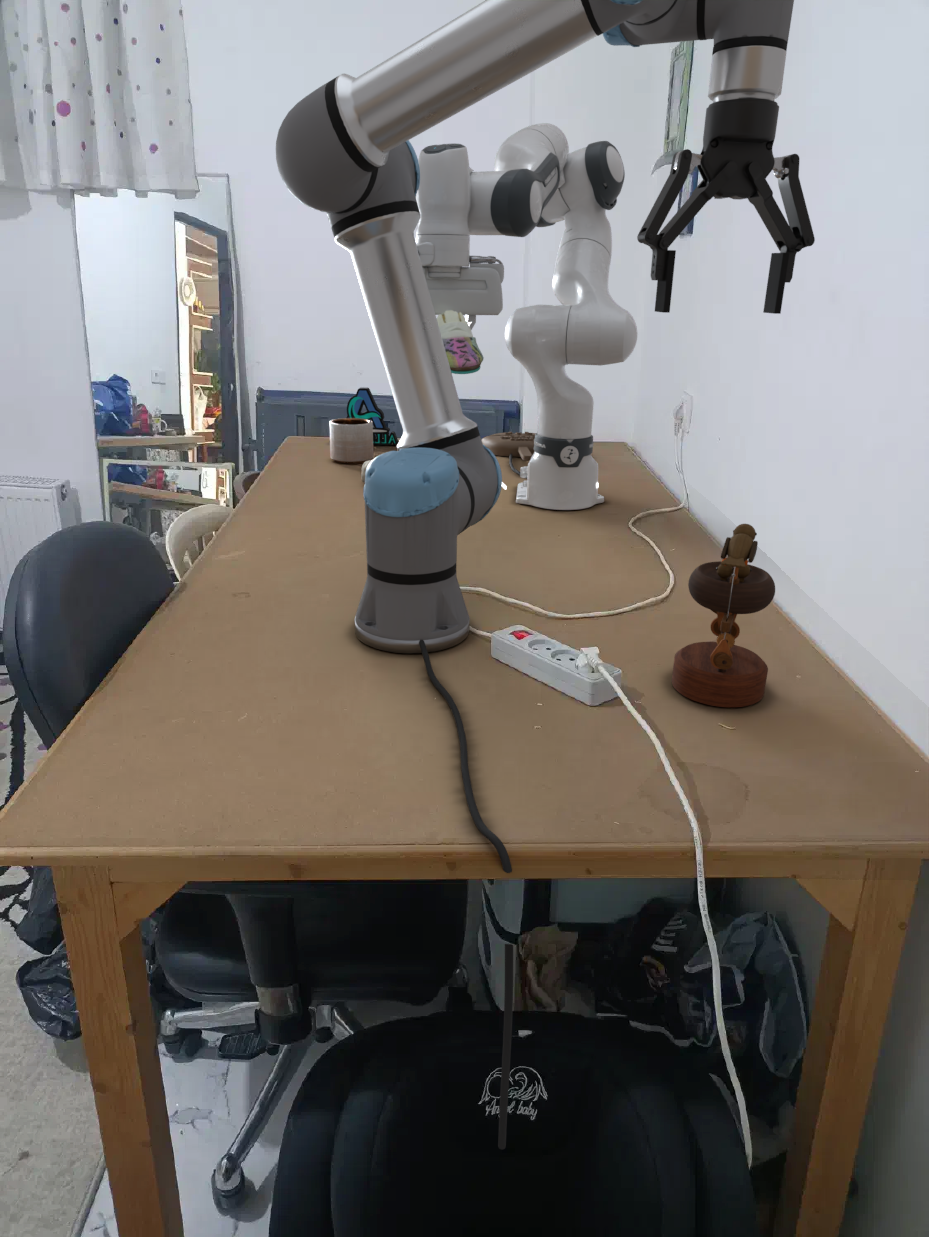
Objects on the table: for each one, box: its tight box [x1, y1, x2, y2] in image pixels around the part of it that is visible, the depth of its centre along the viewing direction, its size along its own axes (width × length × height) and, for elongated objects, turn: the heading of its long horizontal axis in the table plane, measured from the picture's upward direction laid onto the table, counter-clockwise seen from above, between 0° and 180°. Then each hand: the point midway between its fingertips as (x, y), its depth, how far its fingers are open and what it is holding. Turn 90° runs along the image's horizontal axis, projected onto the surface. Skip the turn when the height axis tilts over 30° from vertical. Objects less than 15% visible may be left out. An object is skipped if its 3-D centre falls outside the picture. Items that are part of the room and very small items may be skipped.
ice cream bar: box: [481, 431, 537, 462], centre depth 222 cm, size 21×28×4 cm
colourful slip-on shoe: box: [436, 310, 485, 375], centre depth 135 cm, size 8×24×9 cm, turn 9°
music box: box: [671, 523, 776, 708], centre depth 96 cm, size 15×11×20 cm
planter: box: [328, 417, 375, 464], centre depth 212 cm, size 11×11×10 cm
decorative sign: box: [329, 386, 400, 446], centre depth 231 cm, size 19×2×15 cm, turn 86°
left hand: (717, 313), depth 98 cm, fingers open, 13 cm apart
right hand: (442, 343), depth 144 cm, fingers closed on colourful slip-on shoe, 6 cm apart
